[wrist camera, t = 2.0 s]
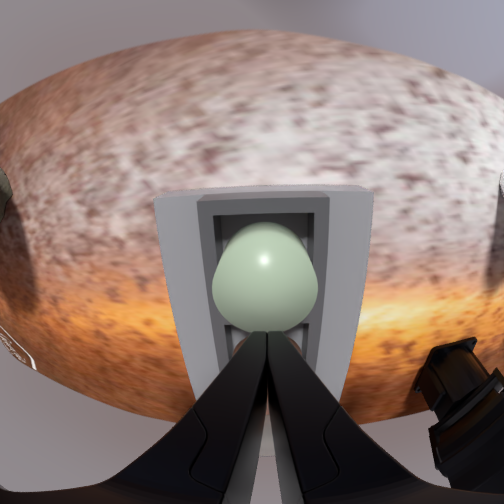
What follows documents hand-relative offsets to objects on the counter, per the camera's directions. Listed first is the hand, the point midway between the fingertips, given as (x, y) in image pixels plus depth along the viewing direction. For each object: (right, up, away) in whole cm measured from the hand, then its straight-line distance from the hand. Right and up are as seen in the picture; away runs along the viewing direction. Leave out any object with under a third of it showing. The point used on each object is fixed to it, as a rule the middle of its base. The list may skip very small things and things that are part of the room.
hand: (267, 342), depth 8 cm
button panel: (+1, -2, +12) cm, 12 cm away
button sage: (0, +2, +5) cm, 6 cm away
